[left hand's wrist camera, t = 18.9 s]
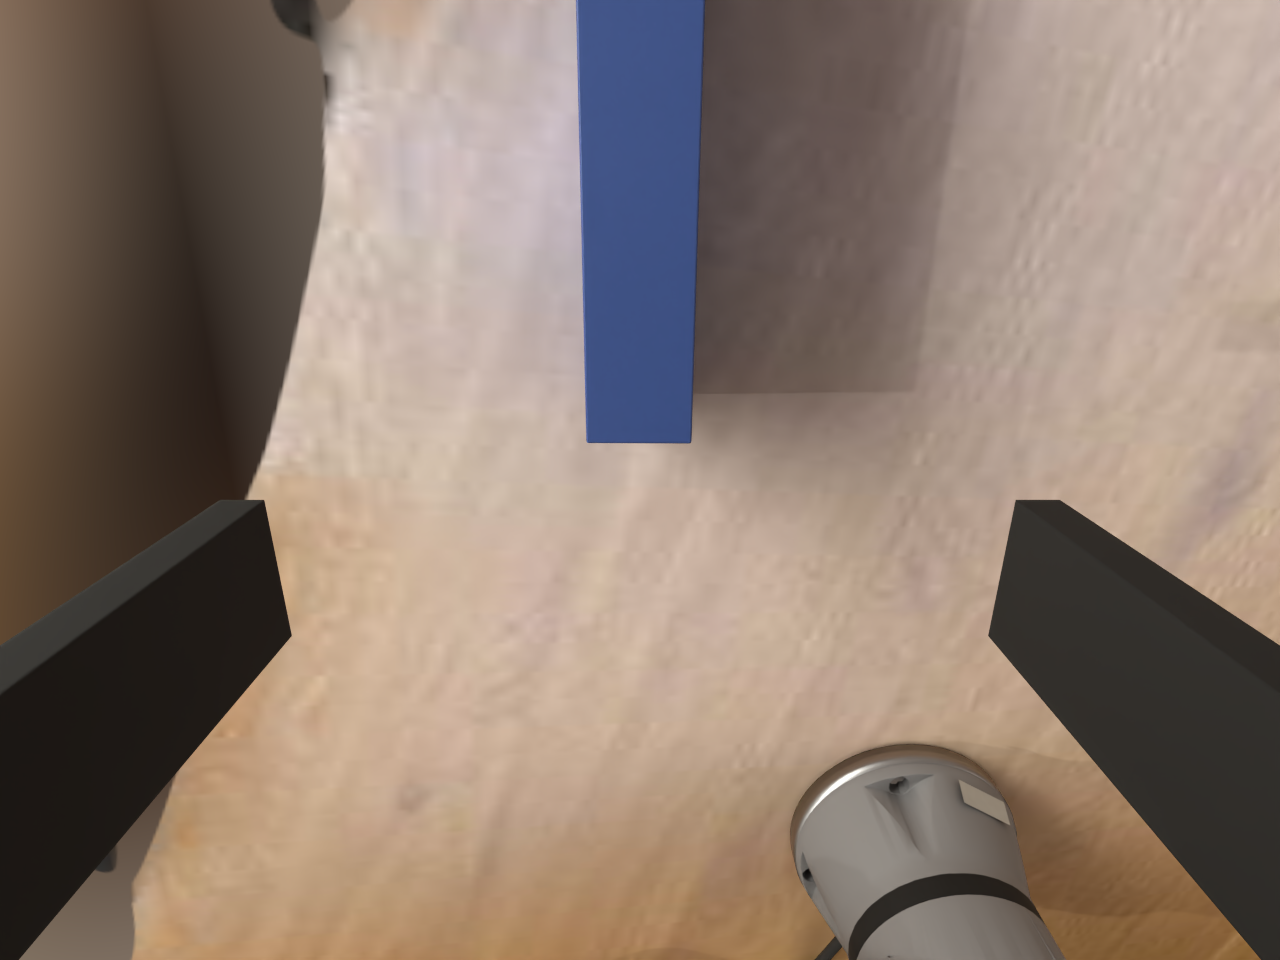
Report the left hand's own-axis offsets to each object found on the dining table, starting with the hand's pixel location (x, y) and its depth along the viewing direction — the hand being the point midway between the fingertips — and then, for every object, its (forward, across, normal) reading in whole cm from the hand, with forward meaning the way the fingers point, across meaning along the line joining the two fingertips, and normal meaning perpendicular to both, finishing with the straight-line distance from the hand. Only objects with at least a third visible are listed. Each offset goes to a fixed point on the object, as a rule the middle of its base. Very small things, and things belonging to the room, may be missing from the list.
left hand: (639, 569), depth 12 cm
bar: (+27, 0, -10) cm, 29 cm away
